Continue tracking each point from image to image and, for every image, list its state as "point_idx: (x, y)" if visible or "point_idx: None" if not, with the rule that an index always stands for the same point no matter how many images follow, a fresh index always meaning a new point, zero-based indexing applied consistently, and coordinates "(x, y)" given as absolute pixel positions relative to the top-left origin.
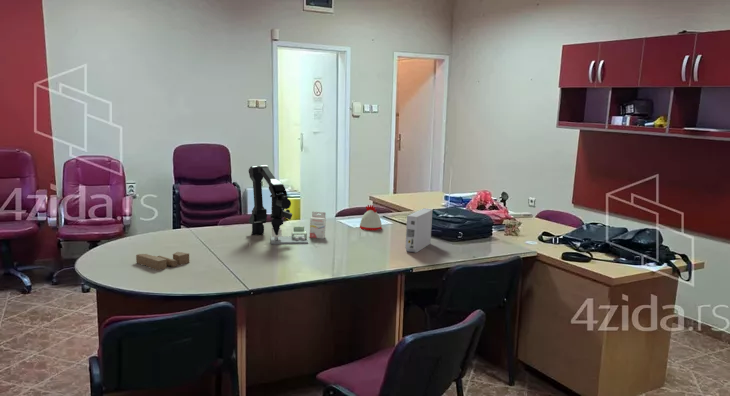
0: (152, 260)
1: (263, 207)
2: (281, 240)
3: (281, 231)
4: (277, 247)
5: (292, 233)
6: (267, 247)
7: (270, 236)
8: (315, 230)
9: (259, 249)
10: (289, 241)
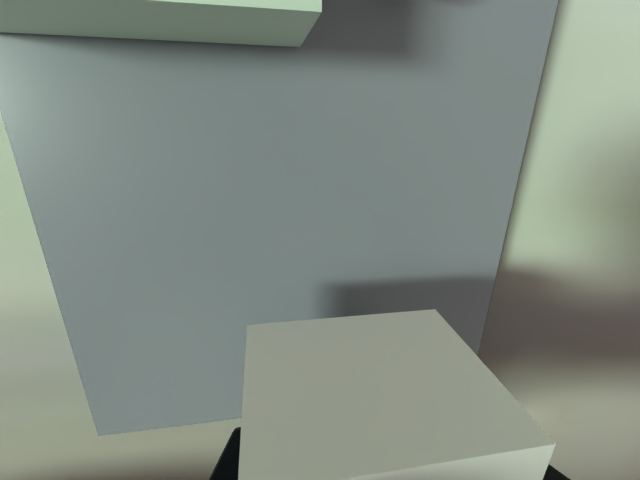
0: None
1: None
2: (388, 270)
3: (508, 392)
4: (615, 300)
5: (236, 12)
6: (575, 392)
7: (98, 434)
8: None
9: (614, 442)
10: (479, 137)
